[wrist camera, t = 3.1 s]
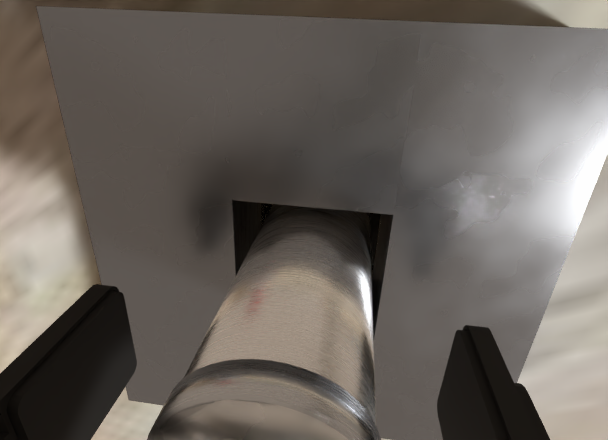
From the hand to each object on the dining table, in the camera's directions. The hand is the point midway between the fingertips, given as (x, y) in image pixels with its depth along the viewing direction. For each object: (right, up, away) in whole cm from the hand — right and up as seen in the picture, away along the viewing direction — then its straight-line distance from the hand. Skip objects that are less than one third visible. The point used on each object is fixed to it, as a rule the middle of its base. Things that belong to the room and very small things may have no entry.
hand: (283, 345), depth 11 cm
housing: (+1, +3, +6) cm, 7 cm away
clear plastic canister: (+1, +3, +6) cm, 7 cm away
